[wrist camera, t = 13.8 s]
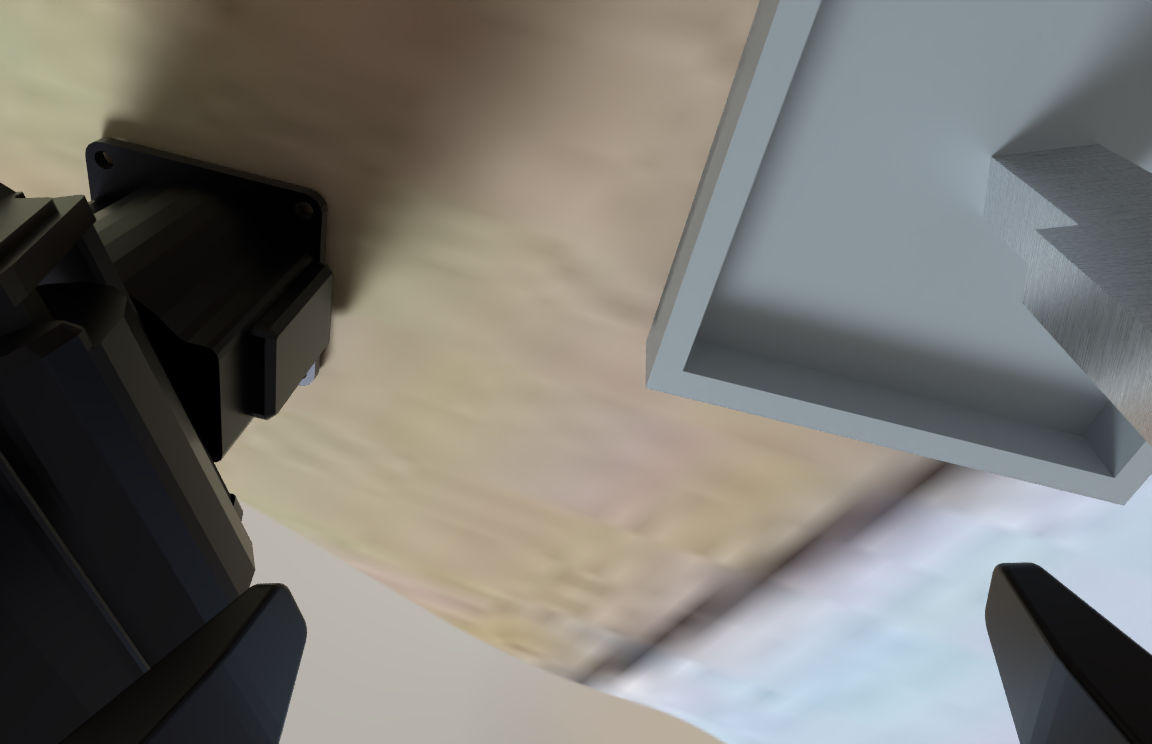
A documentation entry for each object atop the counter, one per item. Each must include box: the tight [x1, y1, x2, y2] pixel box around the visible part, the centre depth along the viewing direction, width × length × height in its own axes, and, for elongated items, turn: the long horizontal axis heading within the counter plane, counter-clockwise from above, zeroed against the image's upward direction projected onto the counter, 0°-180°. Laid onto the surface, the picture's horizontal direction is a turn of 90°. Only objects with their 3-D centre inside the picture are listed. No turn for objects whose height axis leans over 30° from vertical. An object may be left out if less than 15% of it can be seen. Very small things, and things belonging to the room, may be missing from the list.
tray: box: [646, 0, 1152, 505], centre depth 18 cm, size 14×14×2 cm
